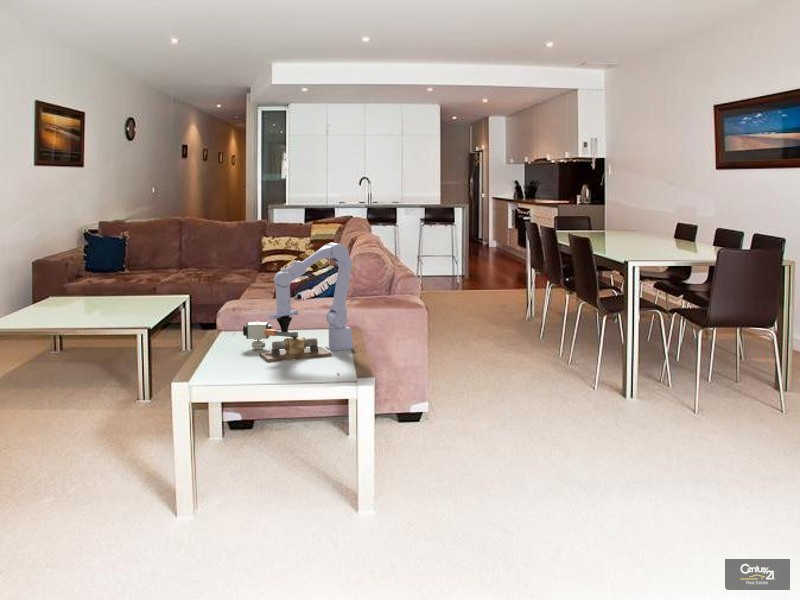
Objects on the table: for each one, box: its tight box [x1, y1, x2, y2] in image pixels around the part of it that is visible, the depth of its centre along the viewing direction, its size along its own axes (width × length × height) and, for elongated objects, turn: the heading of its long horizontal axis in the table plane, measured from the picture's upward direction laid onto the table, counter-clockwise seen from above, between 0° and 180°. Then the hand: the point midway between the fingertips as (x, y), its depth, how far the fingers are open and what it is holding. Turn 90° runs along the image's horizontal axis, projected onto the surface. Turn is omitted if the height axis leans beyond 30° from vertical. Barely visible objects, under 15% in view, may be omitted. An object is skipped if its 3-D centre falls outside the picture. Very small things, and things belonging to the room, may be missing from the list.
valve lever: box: [265, 329, 299, 338], centre depth 324 cm, size 15×3×2 cm, turn 63°
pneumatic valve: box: [242, 320, 274, 350], centre depth 335 cm, size 6×12×12 cm, turn 90°
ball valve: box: [258, 336, 333, 363], centre depth 322 cm, size 26×14×7 cm, turn 113°
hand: (284, 334), depth 325 cm, fingers closed, pressing on valve lever
